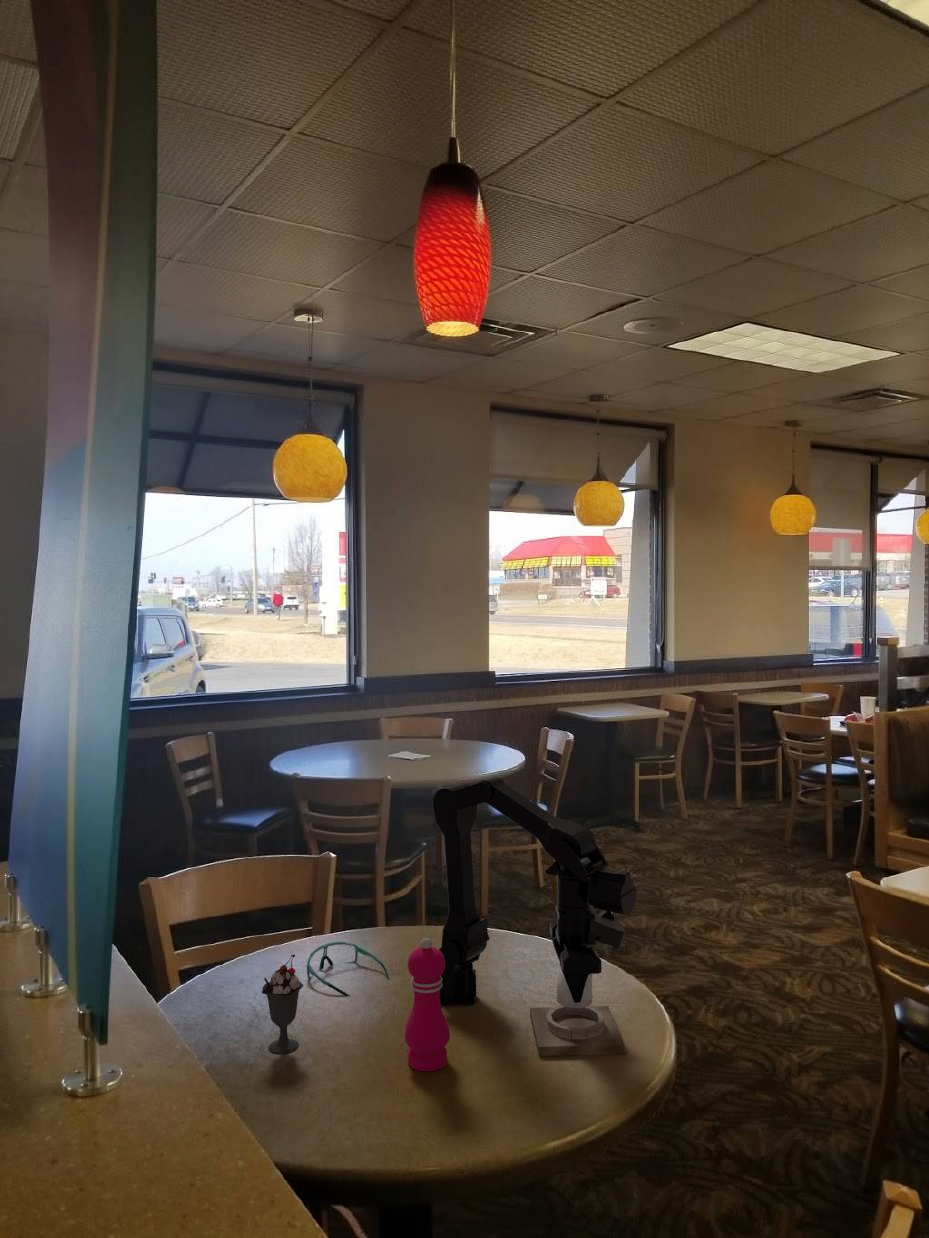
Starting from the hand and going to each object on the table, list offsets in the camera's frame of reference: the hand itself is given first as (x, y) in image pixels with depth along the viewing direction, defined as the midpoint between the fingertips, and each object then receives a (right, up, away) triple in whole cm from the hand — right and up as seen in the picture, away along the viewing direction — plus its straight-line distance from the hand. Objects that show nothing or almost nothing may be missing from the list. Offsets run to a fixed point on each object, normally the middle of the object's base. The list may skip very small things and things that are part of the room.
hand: (574, 993), depth 153 cm
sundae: (-49, -8, -3) cm, 49 cm away
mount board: (0, -7, 0) cm, 7 cm away
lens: (0, -1, 0) cm, 1 cm away
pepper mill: (-25, -8, -9) cm, 27 cm away
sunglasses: (-42, -7, +24) cm, 49 cm away
